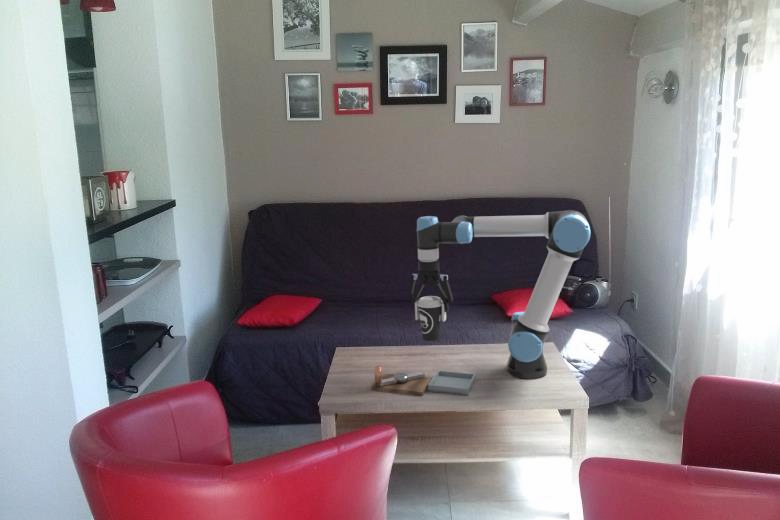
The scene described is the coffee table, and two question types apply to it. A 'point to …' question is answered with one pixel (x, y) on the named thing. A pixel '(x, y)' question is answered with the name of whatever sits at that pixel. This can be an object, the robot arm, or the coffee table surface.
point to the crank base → (404, 386)
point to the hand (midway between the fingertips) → (430, 319)
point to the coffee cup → (430, 317)
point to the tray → (452, 382)
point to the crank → (395, 377)
